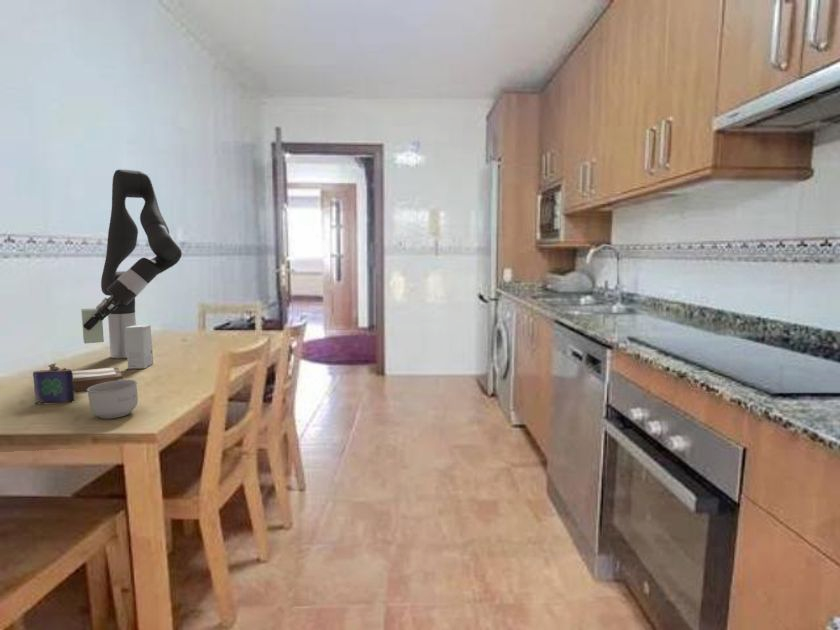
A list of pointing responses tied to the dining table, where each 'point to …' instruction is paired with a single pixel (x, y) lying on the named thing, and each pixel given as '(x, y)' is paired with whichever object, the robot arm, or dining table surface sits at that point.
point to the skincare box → (139, 346)
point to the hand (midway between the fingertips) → (85, 326)
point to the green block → (94, 333)
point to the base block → (94, 377)
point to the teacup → (113, 398)
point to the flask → (53, 385)
